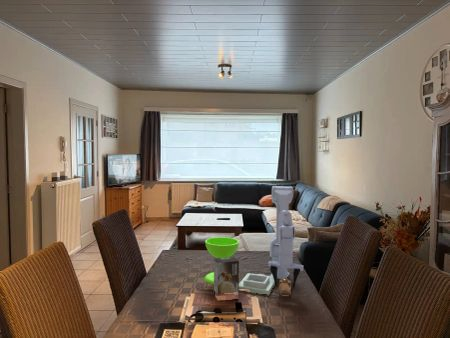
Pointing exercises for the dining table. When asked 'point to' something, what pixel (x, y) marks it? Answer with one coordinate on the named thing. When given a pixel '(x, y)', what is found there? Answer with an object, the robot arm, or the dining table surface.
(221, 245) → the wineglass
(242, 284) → the pale green rectangular tray
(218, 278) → the coffee box
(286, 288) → the spout can
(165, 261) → the dining table surface
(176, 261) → the dining table surface
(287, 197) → the robot arm
